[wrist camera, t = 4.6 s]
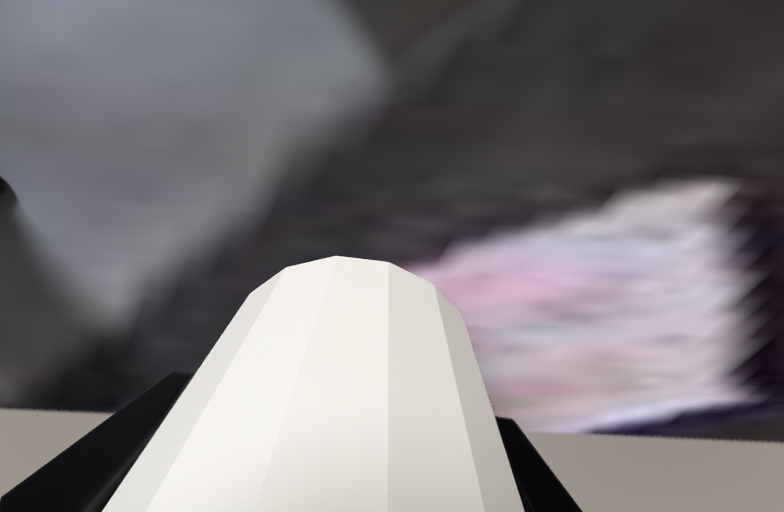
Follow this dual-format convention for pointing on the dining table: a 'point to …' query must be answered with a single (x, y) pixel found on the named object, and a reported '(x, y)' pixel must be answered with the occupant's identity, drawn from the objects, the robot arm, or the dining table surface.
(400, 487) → the shot glass
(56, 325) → the dining table surface
